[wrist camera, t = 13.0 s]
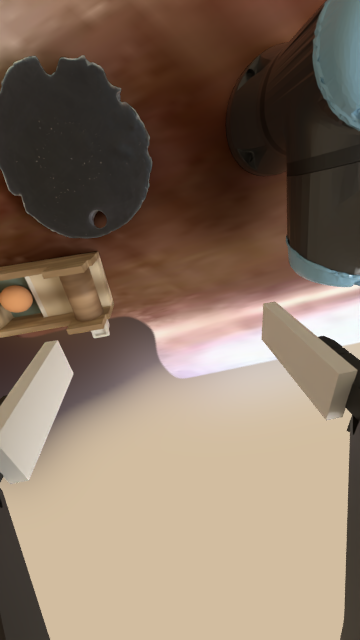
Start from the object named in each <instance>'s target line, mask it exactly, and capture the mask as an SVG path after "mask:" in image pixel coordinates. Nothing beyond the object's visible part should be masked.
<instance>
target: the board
mask: <svg viewBox="0 0 360 640" xmlns="http://www.w3.org/2000/svg"><path fill="white" fill-rule="evenodd" d="M1 84H2V87H1V91H0V169H1V171H2V173H3V175H4V178H5V182H6V185H7V186H8V189H9V191H10V192H11V193H12V194H14V195H15V196H22V201H23V204H24V207H25V211H26V212H27V213H28V214H30V215H31V216H32V217H34V218H35V219H36V220H37V221H38V222H39V223H41V224H42V225H44V226H45V227H47V228H48V229H51V231H54V232H57V233H58V234H61V235H64V236H66V237H67V236H68V237H70V238H96V237H101V236H103V235H107V234H108V233H110V232H111V231H114V230H116V229H118V228H120V227H121V226H123V225H124V224H126V223H127V222H128V221H129V220H131V219H132V217H133V216H134V215H135V213H136V212H137V211H138V210H139V209H140V207H141V204H142V202H143V201H144V200H145V198H146V194H147V191H148V188H149V178H150V172H151V168H152V159H151V158H150V156H149V153H148V146H149V139H150V136H149V134H148V132H147V130H146V129H145V126H144V123H143V122H142V121H141V119H140V117H139V116H138V114H137V112H136V111H135V109H133V108H132V107H131V106H130V105H129V104H128V103H126V102H120V93H121V88H118V87H115V86H113V85H112V84H111V83H109V81H108V80H107V78H106V75H105V72H104V69H103V68H102V67H101V66H100V65H97V64H95V63H93V62H91V63H90V62H89V61H88V60H86V58H85V56H84V55H83V56H80V57H78V58H73V59H71V58H66V57H61V58H60V59H59V62H58V65H57V68H56V72H54V73H53V74H52V75H48V74H47V73H46V72H45V71H44V69H43V67H42V66H41V65H40V62H39V59H38V58H37V57H36V56H35V55H34V56H31V57H30V56H29V57H26V58H24V59H21V60H18V61H17V62H14V63H13V66H11V67H10V68H9V69H8V70H7V72H6V75H5V76H4V78H3V81H2V83H1ZM98 211H101V212H102V213H104V214H105V216H106V218H107V223H106V225H105V227H103V228H97V227H96V226H95V225H94V217H95V215H96V213H97V212H98Z"/></svg>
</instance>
